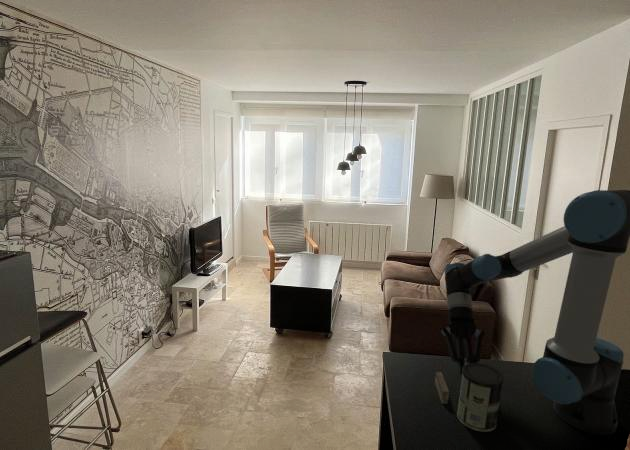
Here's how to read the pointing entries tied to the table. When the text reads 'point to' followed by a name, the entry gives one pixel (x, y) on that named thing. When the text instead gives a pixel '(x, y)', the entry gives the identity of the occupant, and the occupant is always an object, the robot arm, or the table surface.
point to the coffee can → (479, 397)
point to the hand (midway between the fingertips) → (468, 387)
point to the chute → (442, 388)
